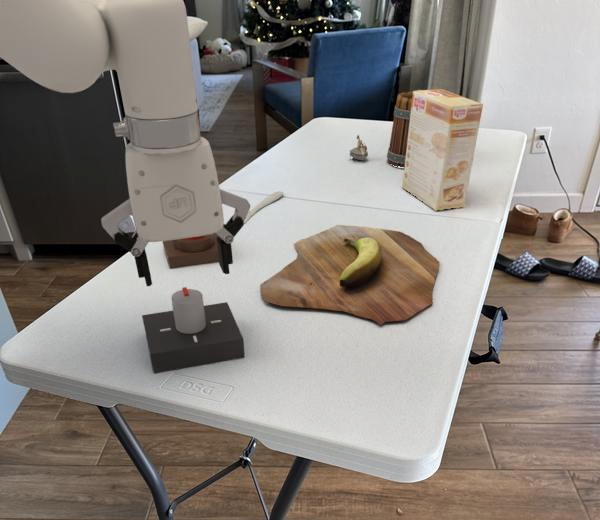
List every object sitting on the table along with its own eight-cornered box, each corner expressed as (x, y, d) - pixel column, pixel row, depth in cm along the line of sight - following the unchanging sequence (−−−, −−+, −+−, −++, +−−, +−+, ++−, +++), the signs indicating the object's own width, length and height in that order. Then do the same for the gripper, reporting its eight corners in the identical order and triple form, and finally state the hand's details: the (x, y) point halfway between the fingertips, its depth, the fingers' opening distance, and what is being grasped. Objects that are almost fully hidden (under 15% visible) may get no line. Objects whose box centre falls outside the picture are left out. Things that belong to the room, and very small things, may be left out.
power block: (170, 269, 97) (166, 247, 94) (164, 250, 103) (160, 228, 100) (228, 261, 99) (226, 239, 97) (219, 243, 105) (217, 221, 103)
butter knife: (288, 192, 124) (276, 189, 125) (219, 240, 105) (205, 236, 106) (288, 195, 124) (276, 192, 125) (219, 243, 106) (205, 239, 107)
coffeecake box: (465, 207, 119) (485, 103, 106) (435, 212, 117) (451, 106, 104) (429, 184, 130) (442, 87, 117) (400, 188, 128) (411, 90, 115)
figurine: (346, 158, 145) (347, 132, 141) (361, 156, 146) (363, 130, 142) (356, 164, 141) (357, 138, 137) (372, 162, 142) (374, 136, 139)
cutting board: (427, 334, 81) (431, 311, 79) (244, 308, 87) (243, 285, 84) (447, 236, 107) (450, 216, 105) (305, 221, 113) (305, 201, 111)
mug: (426, 172, 136) (435, 102, 127) (382, 167, 139) (388, 98, 129) (435, 153, 148) (445, 88, 138) (395, 149, 150) (401, 85, 141)
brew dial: (208, 331, 76) (204, 299, 73) (178, 336, 75) (173, 303, 72) (203, 316, 79) (199, 284, 76) (174, 320, 78) (168, 289, 75)
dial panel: (153, 373, 74) (149, 353, 72) (145, 333, 81) (141, 314, 80) (244, 357, 77) (243, 337, 75) (228, 320, 84) (227, 300, 82)
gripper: (81, 148, 57) (118, 300, 68) (251, 131, 61) (260, 278, 72) (80, 129, 63) (114, 273, 73) (235, 114, 67) (246, 253, 77)
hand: (187, 275), depth 73 cm, fingers open, 9 cm apart
